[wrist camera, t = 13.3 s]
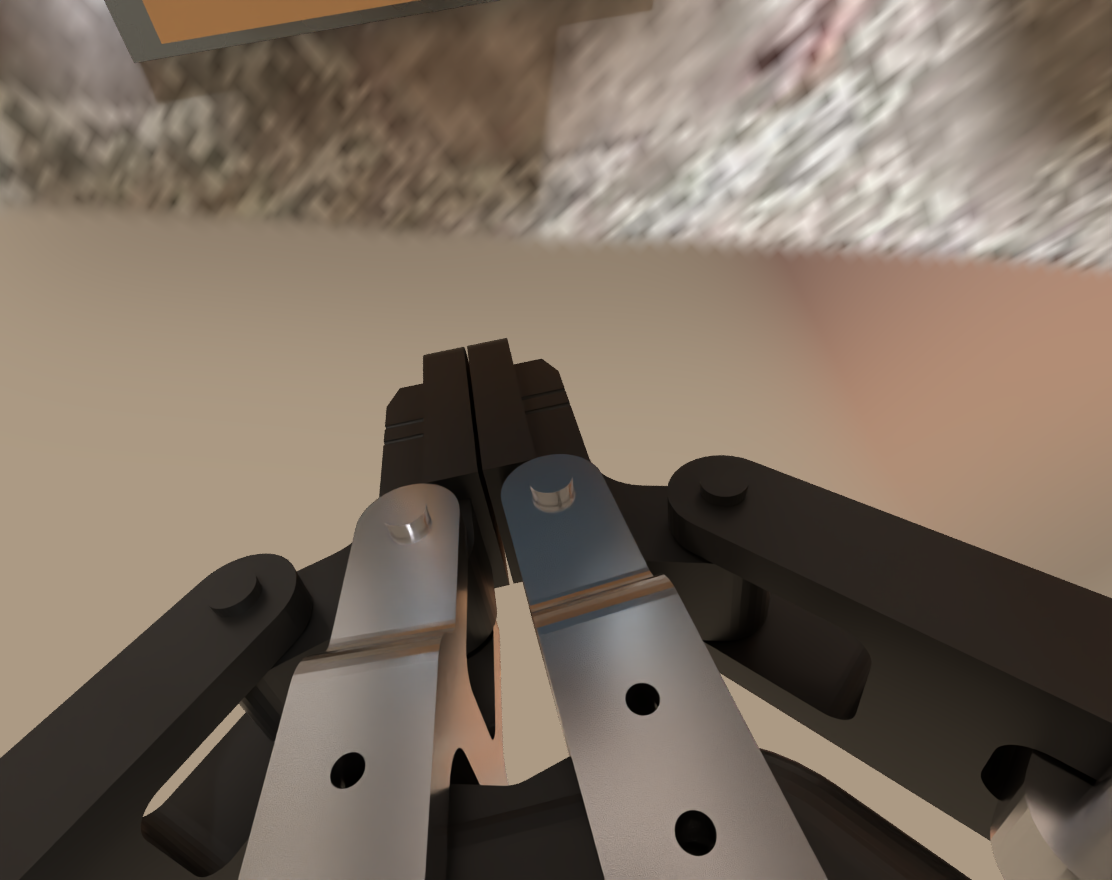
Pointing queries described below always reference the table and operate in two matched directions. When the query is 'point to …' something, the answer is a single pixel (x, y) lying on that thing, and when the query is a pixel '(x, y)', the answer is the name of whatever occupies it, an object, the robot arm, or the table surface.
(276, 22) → the press bed carriage
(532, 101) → the table surface
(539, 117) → the table surface
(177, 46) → the press frame
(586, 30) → the table surface
